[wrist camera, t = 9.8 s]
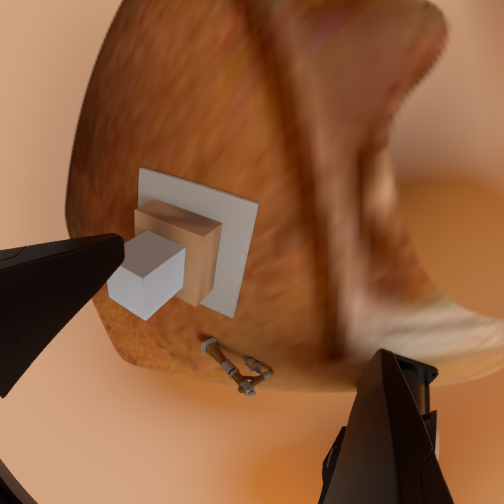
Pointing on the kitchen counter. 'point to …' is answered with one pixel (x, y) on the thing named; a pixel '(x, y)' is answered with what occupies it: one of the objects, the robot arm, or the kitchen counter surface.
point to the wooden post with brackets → (234, 373)
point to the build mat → (217, 208)
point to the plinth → (185, 244)
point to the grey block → (148, 274)
